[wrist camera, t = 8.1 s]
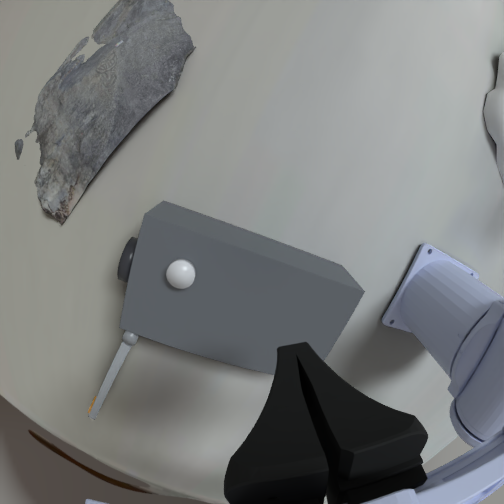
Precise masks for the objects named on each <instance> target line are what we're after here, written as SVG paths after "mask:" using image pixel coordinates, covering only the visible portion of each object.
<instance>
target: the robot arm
mask: <svg viewBox="0 0 504 504" xmlns="http://www.w3.org/2000/svg"><path fill="white" fill-rule="evenodd" d="M429 249H430V251H429V253H428V250H429ZM478 279H479V274H478V273H476V272H475V271H473V270H472V269H470V268H468V267H467V266H465V265H463V264H462V263H460V262H458V261H457V260H455V259H453V258H452V257H450V256H448V255H447V254H445V253H443V252H441V251H440V250H438V249H436V248H434V247H433V246H431V245H429V244H427V243H423V244H422V245H421V246H420V248H419V250H418V252H417V254H416V257H415V259H414V261H413V263H412V265H411V267H410V269H409V271H408V273H407V275H406V276H405V278H404V280H403V282H402V284H401V286H400V288H399V290H398V291H397V293H396V295H395V297H394V299H393V300H392V302H391V304H390V306H389V308H388V309H387V311H386V313H385V314H384V316H383V318H382V323H383V324H384V325H386V326H389V327H393V328H396V329H400V330H403V331H407V332H411V333H413V334H414V335H415V336H416V337H417V338H418V340H419V341H420V342H421V343H422V344H423V346H424V347H425V348H426V349H427V350H428V352H429V353H430V354H431V355H432V356H433V358H434V359H435V360H436V361H437V363H438V364H439V365H440V366H441V367H442V369H443V370H444V371H445V372H446V374H447V375H448V376H449V378H450V379H451V383H450V385H449V387H448V390H449V392H450V393H451V395H452V396H453V397H454V400H453V401H452V403H451V406H450V418H451V421H452V424H453V426H454V429H455V431H456V432H457V434H458V435H459V436H460V438H461V439H462V440H463V441H464V442H466V443H467V444H468V445H470V446H472V447H474V448H473V449H471V450H470V451H468V452H466V453H465V454H463V455H461V456H460V457H458V458H456V459H454V460H452V461H450V462H449V463H447V464H445V465H443V466H441V467H439V468H437V469H435V470H433V471H431V472H429V473H427V474H426V473H425V471H424V469H423V467H422V465H421V464H422V463H423V460H422V458H421V456H420V453H421V452H422V450H423V448H424V446H425V444H426V442H427V439H428V434H427V432H426V430H425V428H424V427H423V425H422V424H421V423H420V422H419V420H418V419H417V418H416V417H415V416H414V415H411V414H407V413H404V412H401V411H398V410H395V409H392V408H390V407H388V406H385V405H383V404H381V403H379V402H377V401H375V400H373V399H371V398H369V397H368V396H366V395H364V394H363V393H361V392H359V391H358V390H356V389H355V388H354V387H352V386H351V385H349V384H348V383H347V382H346V381H344V380H343V379H342V378H341V377H340V376H338V375H337V374H336V373H335V372H334V371H333V370H332V369H331V368H330V367H329V366H328V365H327V364H326V363H325V362H324V361H323V360H322V359H321V358H320V357H319V356H318V355H317V353H316V352H315V351H314V350H313V349H312V347H311V346H310V345H309V343H307V342H302V343H296V344H291V345H285V346H280V347H278V348H277V364H276V370H275V375H274V380H273V383H272V387H271V390H270V393H269V396H268V399H267V401H266V404H265V406H264V408H263V410H262V412H261V414H260V416H259V418H258V420H257V422H256V424H255V426H254V427H253V429H252V430H251V432H250V433H249V435H248V436H247V438H246V439H245V441H244V442H243V444H242V445H241V446H240V447H239V449H238V450H237V451H236V452H235V453H234V455H233V456H232V457H231V459H230V461H229V464H228V467H227V471H226V474H225V480H224V495H225V498H226V499H227V501H228V502H229V503H230V504H323V503H324V497H325V496H327V502H328V504H478V503H479V502H481V501H482V500H484V499H485V498H486V497H487V496H489V495H490V494H492V493H493V492H494V491H496V490H497V489H498V488H500V487H501V486H502V485H504V297H502V296H501V295H499V294H498V293H497V292H495V291H494V290H492V289H491V288H489V287H488V286H487V285H485V284H484V283H482V282H481V281H479V280H478ZM391 320H392V321H391ZM390 321H391V322H390ZM85 504H108V503H104V502H100V501H95V500H91V499H86V502H85Z"/></svg>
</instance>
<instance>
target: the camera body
mask: <svg viewBox="0 0 504 504" xmlns="http://www.w3.org/2000/svg"><path fill="white" fill-rule="evenodd" d="M118 279H119V280H122V281H124V282H127V283H128V284H127V289H126V294H125V299H124V304H123V310H122V315H121V321H120V327H119V328H121V329H124V330H127V331H129V332H132V333H134V334H137V335H140V336H143V337H145V338H148V339H151V340H154V341H157V342H159V343H162V344H165V345H168V346H171V347H174V348H177V349H180V350H184V351H187V352H190V353H193V354H196V355H200V356H203V357H206V358H210V359H213V360H217V361H220V362H224V363H228V364H231V365H235V366H239V367H243V368H247V369H251V370H255V371H259V372H263V373H268V374H272V375H275V370H276V364H277V348H278V347H280V346H285V345H291V344H296V343H302V342H307V343H309V345H310V346H311V347H312V349H313V350H314V351H315V352H316V353H317V355H318V356H319V357H320V358H321V359H322V360H323V361H324V360H325V358H326V357H327V355H328V353H329V352H330V350H331V349H332V347H333V346H334V344H335V342H336V341H337V339H338V337H339V336H340V334H341V332H342V331H343V329H344V327H345V326H346V324H347V322H348V321H349V319H350V317H351V315H352V314H353V312H354V310H355V308H356V307H357V305H358V303H359V301H360V299H361V298H362V296H363V294H364V292H365V291H364V290H363V289H362V288H361V286H360V285H359V284H358V283H357V282H356V281H355V280H354V278H353V277H352V276H351V275H350V274H349V273H348V271H347V270H346V269H345V268H344V267H343V266H342V265H339V264H337V263H334V262H332V261H329V260H326V259H324V258H321V257H318V256H316V255H313V254H310V253H308V252H305V251H302V250H300V249H297V248H294V247H292V246H289V245H286V244H283V243H281V242H278V241H275V240H273V239H270V238H267V237H264V236H262V235H259V234H256V233H253V232H251V231H248V230H245V229H242V228H240V227H237V226H234V225H231V224H228V223H226V222H223V221H220V220H217V219H214V218H212V217H209V216H206V215H203V214H200V213H198V212H195V211H192V210H189V209H186V208H183V207H180V206H178V205H175V204H172V203H169V202H166V201H162V202H161V203H160V204H158V205H157V206H155V207H154V208H152V209H151V210H150V211H148V212H147V213H145V215H144V218H143V222H142V226H141V229H140V233H139V237H138V239H137V238H135V237H132V238H131V239H130V240H129V241H128V243H127V244H126V246H125V248H124V251H123V253H122V256H121V259H120V262H119V267H118Z"/></svg>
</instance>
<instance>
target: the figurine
mask: <svg viewBox="0 0 504 504" xmlns="http://www.w3.org/2000/svg"><path fill="white" fill-rule="evenodd" d="M483 113H484V117H485V122H486V127H487V131H488V132H489V134H490V135H491V137H492V138H493V140H494V141H495V143H496V144H497V156H496V160H497V166H498V169H499V171H500V174H501V177H502V180H503V183H504V52H503V53H502V54H501V55H500V56H499V66H498V75H497V82H496V87H495V89H494V90H492V91H490V92H489V93H488V94H487V98H486V102H485V106H484V110H483Z"/></svg>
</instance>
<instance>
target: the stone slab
mask: <svg viewBox="0 0 504 504" xmlns="http://www.w3.org/2000/svg"><path fill="white" fill-rule="evenodd" d="M173 7H174V5H173V4H172V3H171V2H169V1H168V0H119V1H118V2H117V3H116V4H115V5H114V7H113V8H112V9H111V10H110V11H109V12H108V14H107V15H106V16H105V17H104V18H103V19H102V20H101V22H100V23H99V24H98V25H97V26H96V28H95V29H94V30H93V35H92V38H94V41H95V42H96V43H97V44H103V43H104V44H106V45H104V46H103V47H101V48H100V49H98V50H97V51H96V52H95V53H94V54H93V55H92V56H91V57H90V58H88V60H87V61H86V62H85V63H83V60H84V55H80V56H78V57H76V60H74V61H72V62H71V58H72V57H74V56H75V55H76V54H77V53H78V52H79V51H80V50H81V49H82V48H83V47H84V46H85V45H86V44H87V42H88V39H89V37H86V38H84V39H82V40H81V41H80V42H79V43H78V44H77V46H76V47H75V48H74V50H73V51H72V52H71V53H70V54H69V56H68V57H67V58H66V60H65V61H64V62H63V64H62V65H61V66H60V68H59V69H58V70H57V72H56V73H55V74H54V76H53V77H51V78H50V80H49V81H48V82H47V83H46V85H45V86H44V88H43V89H42V91H41V92H40V94H39V95H38V102H37V104H36V107H35V115H34V123H33V126H32V128H31V130H30V133H31V132H33V131H37V135H38V136H37V139H36V143H38V142H40V143H39V144H40V150H41V157H40V165H41V168H40V170H39V172H38V175H37V177H36V179H35V182H34V183H35V185H36V187H37V190H38V191H37V193H38V198H39V200H40V201H41V204H42V205H41V207H42V209H43V210H44V211H45V212H46V213H49V214H50V215H51V216H53V217H54V218H56V219H57V220H59V221H60V223H63V222H64V221H65V219H66V218H67V216H69V214H70V213H71V211H72V209H73V208H74V206H75V205H76V203H77V202H78V200H79V198H80V197H81V195H82V194H83V192H84V190H85V189H86V187H87V185H88V184H89V182H90V181H91V180H92V178H93V177H94V176H95V175H96V174H97V172H98V171H99V169H100V168H101V166H102V165H103V163H104V162H105V160H106V159H107V158H108V156H109V155H110V154H111V153H112V151H113V150H114V149H115V148H116V147H117V146H118V144H119V143H120V142H121V141H122V140H123V139H124V137H125V136H126V135H127V134H128V133H129V131H130V130H131V129H132V128H133V127H134V126H135V124H136V123H137V122H138V121H139V120H140V119H141V118H142V117H143V116H144V115H145V114H146V113H147V112H148V111H149V110H150V109H151V108H152V107H153V106H154V105H155V104H156V103H158V102H159V101H160V100H161V99H162V98H163V97H164V96H165V95H167V94H168V93H169V92H170V91H172V90H173V89H175V87H176V86H177V82H178V80H179V78H180V75H181V72H182V70H183V67H184V64H185V61H186V58H187V56H188V55H189V54H190V53H191V52H192V51H193V50H194V49H195V48H196V47H193V43H192V40H191V37H190V36H189V35H188V34H187V33H186V32H185V31H184V29H183V27H182V23H181V18H180V17H179V16H176V14H175V13H174V9H173ZM81 63H82V64H81ZM30 133H29V131H28V132H27V133H26V135H25V138H26V137H28V136H29V134H30ZM22 148H23V141H22V139H20V140H19V139H18V140H17V141H16V142H15V152H16V156H17V160H18V159H19V158H20V154H21V152H22Z"/></svg>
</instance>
